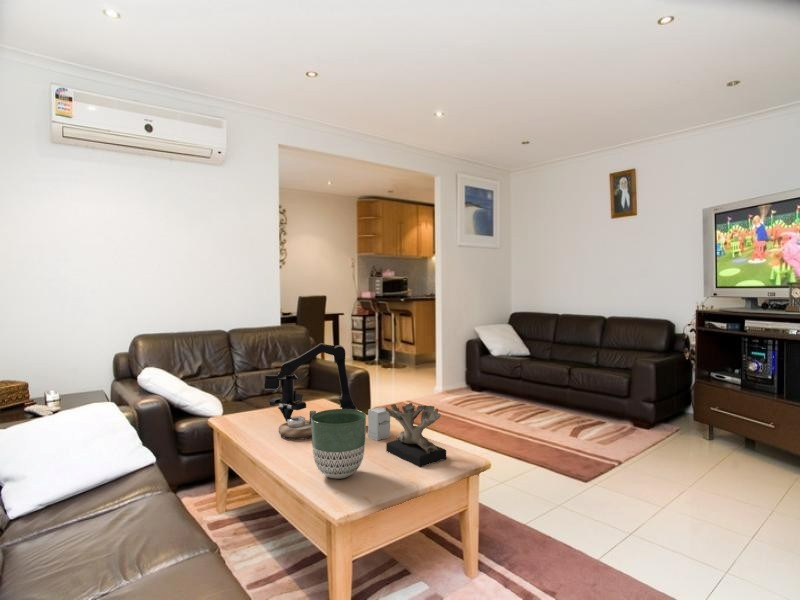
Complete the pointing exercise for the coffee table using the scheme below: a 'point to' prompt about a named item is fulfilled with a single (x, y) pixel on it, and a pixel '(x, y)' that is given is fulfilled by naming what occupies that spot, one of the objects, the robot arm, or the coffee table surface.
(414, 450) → the coral
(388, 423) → the supplement box
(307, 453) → the coffee table surface
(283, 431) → the turntable
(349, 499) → the coffee table surface
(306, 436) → the turntable base
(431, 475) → the coffee table surface
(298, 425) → the cover
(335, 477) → the planter
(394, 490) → the coffee table surface
